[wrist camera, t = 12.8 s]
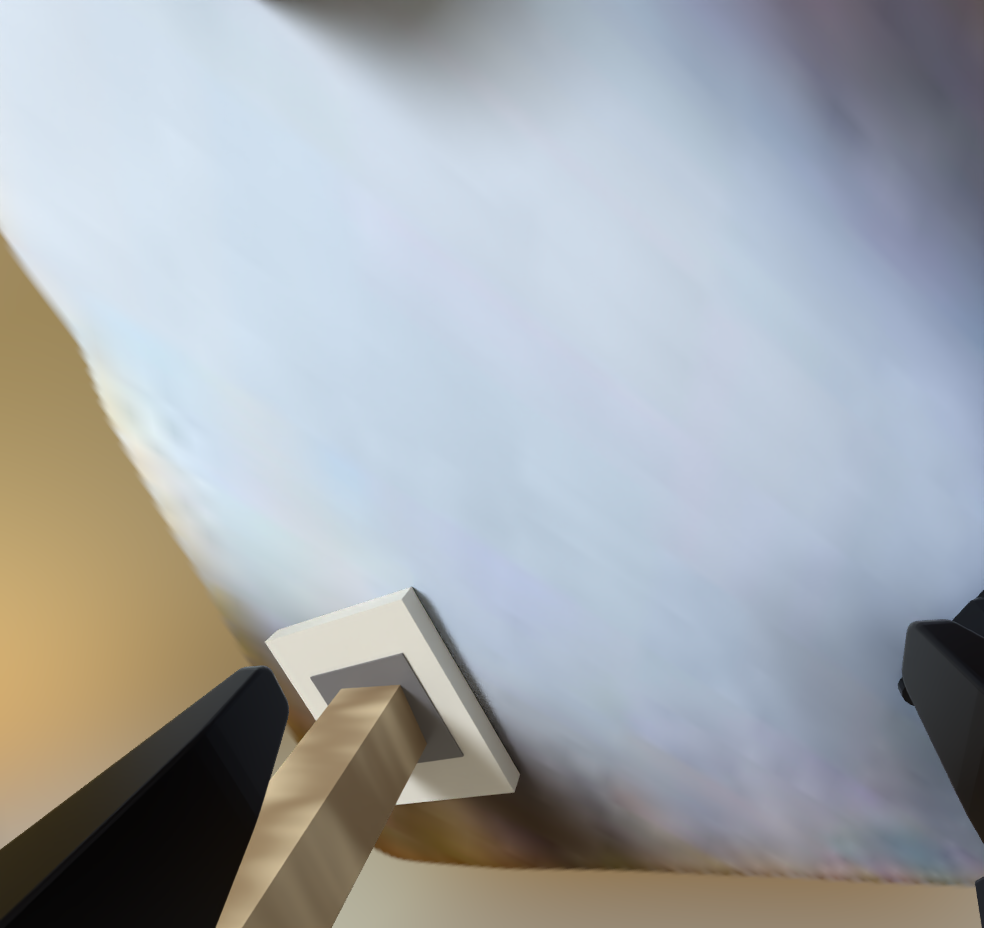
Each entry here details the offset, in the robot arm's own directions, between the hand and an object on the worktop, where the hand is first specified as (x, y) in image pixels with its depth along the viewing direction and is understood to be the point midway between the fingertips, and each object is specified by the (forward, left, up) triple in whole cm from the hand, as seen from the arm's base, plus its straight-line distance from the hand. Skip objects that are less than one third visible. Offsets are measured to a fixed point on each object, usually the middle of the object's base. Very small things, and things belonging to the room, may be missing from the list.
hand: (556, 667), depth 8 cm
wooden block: (+5, +18, -12) cm, 22 cm away
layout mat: (+5, +18, -13) cm, 23 cm away
